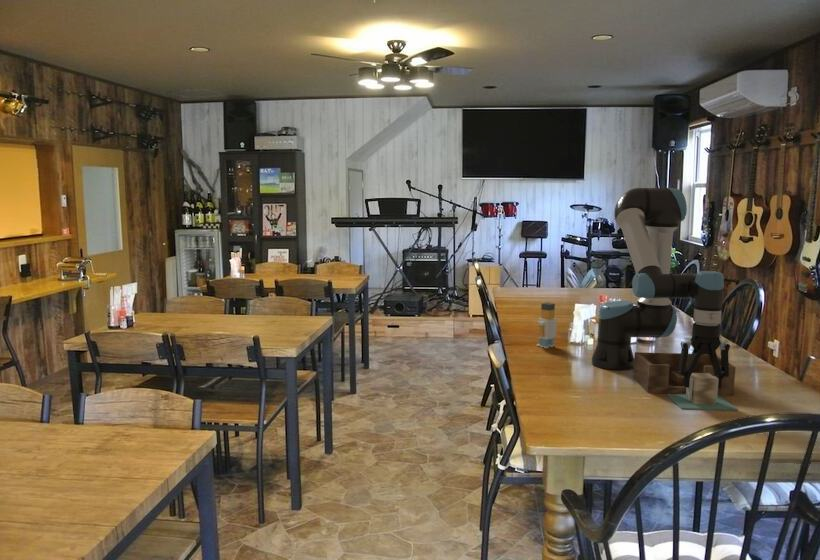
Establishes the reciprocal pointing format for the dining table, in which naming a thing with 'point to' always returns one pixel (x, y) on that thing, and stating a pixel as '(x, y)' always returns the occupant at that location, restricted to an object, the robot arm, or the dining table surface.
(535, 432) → the dining table surface
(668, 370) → the crate
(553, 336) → the character figure
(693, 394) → the block
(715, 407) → the mat
